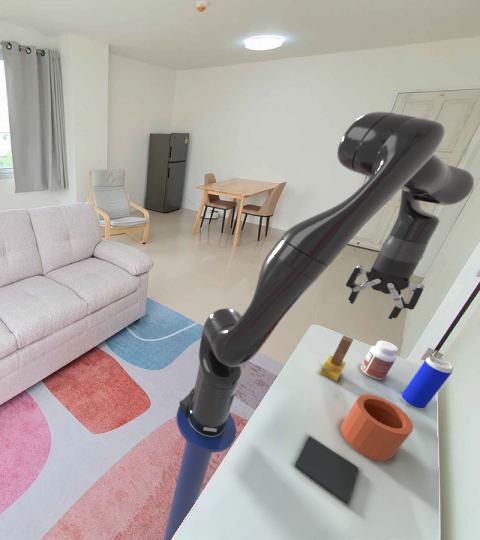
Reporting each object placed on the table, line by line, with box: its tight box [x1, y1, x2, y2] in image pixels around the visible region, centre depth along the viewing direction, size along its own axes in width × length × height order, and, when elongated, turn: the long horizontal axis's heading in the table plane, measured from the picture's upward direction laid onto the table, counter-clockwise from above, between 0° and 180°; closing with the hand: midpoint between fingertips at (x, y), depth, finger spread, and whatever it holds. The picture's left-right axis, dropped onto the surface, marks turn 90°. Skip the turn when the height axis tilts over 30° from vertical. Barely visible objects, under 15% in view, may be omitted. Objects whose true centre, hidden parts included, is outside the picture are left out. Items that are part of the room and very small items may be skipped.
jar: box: [340, 393, 414, 462], centre depth 70 cm, size 10×10×10 cm
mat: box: [294, 435, 359, 504], centre depth 66 cm, size 10×10×1 cm
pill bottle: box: [360, 340, 399, 380], centre depth 90 cm, size 6×6×11 cm
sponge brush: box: [319, 335, 354, 383], centre depth 88 cm, size 4×4×14 cm
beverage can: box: [400, 355, 454, 410], centre depth 80 cm, size 5×5×15 cm
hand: (370, 310), depth 79 cm, fingers open, 8 cm apart
